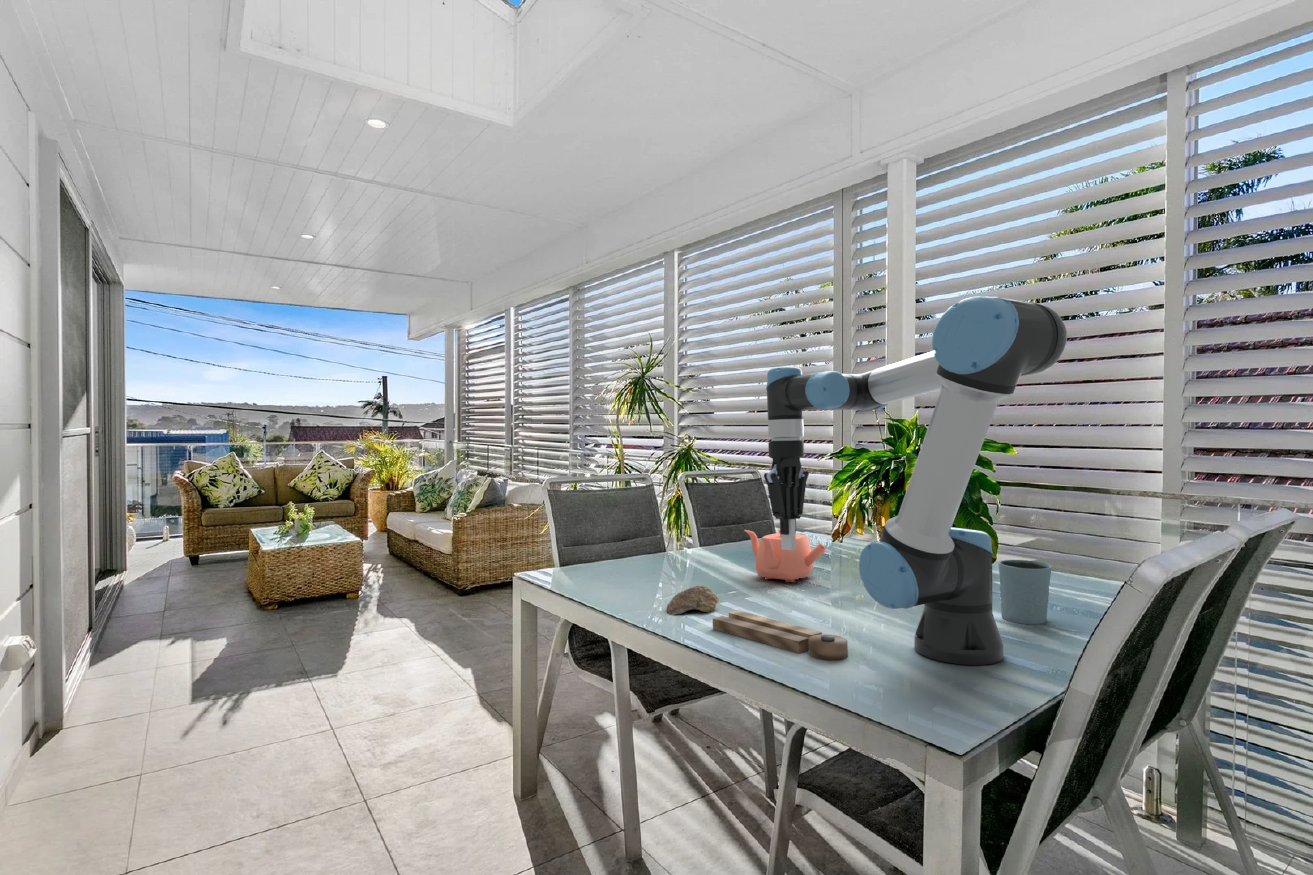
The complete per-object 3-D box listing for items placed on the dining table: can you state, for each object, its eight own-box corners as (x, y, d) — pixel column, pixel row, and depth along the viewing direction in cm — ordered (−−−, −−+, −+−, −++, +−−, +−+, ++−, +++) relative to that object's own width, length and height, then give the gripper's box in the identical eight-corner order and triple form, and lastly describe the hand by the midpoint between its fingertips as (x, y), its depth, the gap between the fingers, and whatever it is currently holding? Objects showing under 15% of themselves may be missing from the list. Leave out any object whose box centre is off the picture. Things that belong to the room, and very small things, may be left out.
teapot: (762, 587, 182) (762, 535, 182) (744, 573, 200) (743, 525, 200) (828, 584, 185) (827, 532, 184) (803, 570, 203) (803, 523, 203)
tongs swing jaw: (821, 643, 133) (821, 632, 133) (812, 646, 131) (812, 635, 131) (738, 620, 149) (738, 610, 149) (728, 622, 148) (728, 612, 148)
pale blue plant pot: (1000, 610, 156) (1000, 557, 156) (1052, 616, 150) (1052, 561, 150) (996, 621, 147) (996, 565, 147) (1051, 628, 142) (1051, 570, 142)
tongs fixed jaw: (855, 654, 127) (855, 636, 127) (833, 662, 122) (833, 645, 122) (735, 622, 149) (734, 607, 149) (712, 628, 144) (712, 613, 144)
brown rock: (662, 606, 164) (661, 585, 164) (713, 603, 166) (712, 583, 166) (668, 617, 155) (668, 595, 155) (722, 613, 157) (722, 592, 157)
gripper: (790, 439, 155) (792, 544, 155) (752, 440, 146) (755, 551, 146) (818, 438, 150) (821, 547, 149) (781, 439, 141) (784, 555, 141)
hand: (788, 549), depth 148 cm, fingers closed
